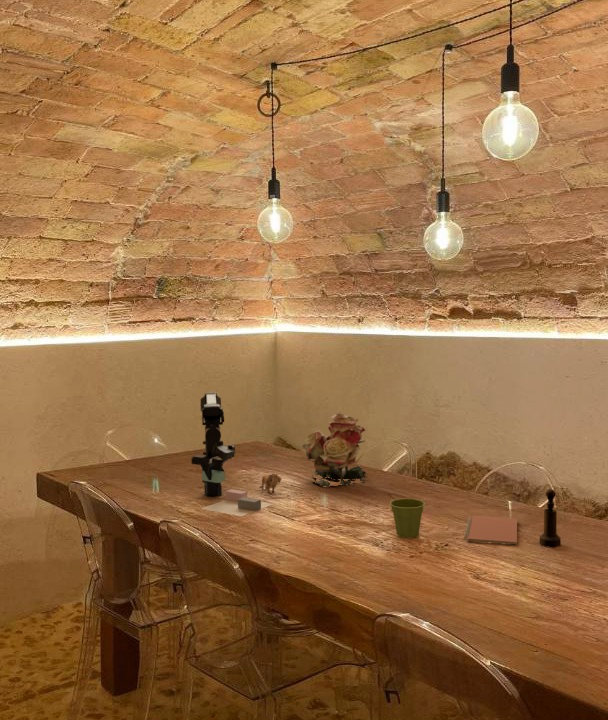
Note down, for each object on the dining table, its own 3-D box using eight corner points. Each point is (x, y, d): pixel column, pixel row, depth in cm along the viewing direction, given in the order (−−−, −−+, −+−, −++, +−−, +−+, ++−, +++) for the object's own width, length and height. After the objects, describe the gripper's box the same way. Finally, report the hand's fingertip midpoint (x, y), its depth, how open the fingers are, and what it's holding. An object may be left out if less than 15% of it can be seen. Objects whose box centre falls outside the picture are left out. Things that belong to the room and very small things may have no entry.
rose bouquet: (300, 475, 346) (300, 410, 344) (364, 473, 350) (363, 408, 347) (307, 489, 321) (306, 419, 319) (375, 486, 324) (375, 417, 322)
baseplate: (200, 510, 291) (200, 499, 290) (233, 498, 307) (233, 488, 307) (241, 518, 280) (241, 507, 279) (273, 505, 296) (273, 495, 296)
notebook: (468, 520, 275) (468, 514, 275) (516, 523, 271) (516, 517, 271) (463, 543, 249) (463, 537, 249) (517, 547, 245) (517, 541, 244)
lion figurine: (283, 495, 312) (283, 473, 311) (272, 497, 309) (271, 475, 308) (264, 488, 324) (264, 467, 324) (254, 489, 321) (253, 468, 321)
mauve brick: (225, 499, 303) (225, 491, 303) (231, 497, 306) (231, 489, 306) (241, 502, 299) (241, 493, 298) (247, 500, 302) (247, 491, 302)
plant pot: (393, 529, 264) (392, 497, 263) (427, 531, 260) (427, 499, 260) (386, 539, 253) (386, 506, 252) (422, 542, 249) (422, 508, 248)
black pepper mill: (543, 539, 250) (543, 485, 249) (563, 543, 247) (563, 488, 245) (536, 545, 245) (537, 490, 244) (557, 548, 241) (557, 492, 240)
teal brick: (202, 480, 291) (202, 471, 290) (209, 478, 294) (208, 469, 294) (218, 482, 286) (218, 473, 286) (225, 480, 289) (224, 471, 289)
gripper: (212, 444, 277) (213, 486, 278) (244, 436, 292) (245, 476, 293) (189, 441, 283) (190, 483, 284) (222, 434, 298) (223, 473, 299)
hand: (213, 479), depth 290 cm, fingers closed on teal brick, 4 cm apart
